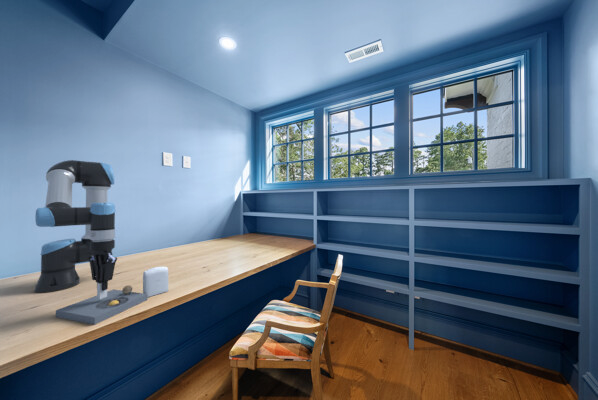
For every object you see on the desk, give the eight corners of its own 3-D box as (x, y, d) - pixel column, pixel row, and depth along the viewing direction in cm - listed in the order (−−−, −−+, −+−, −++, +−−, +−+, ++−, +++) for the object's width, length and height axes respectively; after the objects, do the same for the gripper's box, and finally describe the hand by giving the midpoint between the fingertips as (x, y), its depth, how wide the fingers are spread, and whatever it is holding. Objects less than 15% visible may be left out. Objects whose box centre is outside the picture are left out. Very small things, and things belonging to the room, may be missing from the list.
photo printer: (144, 298, 97) (144, 271, 97) (141, 296, 99) (141, 269, 99) (169, 291, 104) (170, 265, 105) (166, 289, 107) (166, 264, 107)
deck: (55, 316, 81) (55, 310, 81) (113, 294, 101) (113, 289, 101) (94, 324, 76) (94, 317, 76) (147, 299, 96) (147, 294, 96)
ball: (104, 306, 86) (108, 300, 85) (113, 302, 89) (117, 296, 89) (109, 313, 85) (113, 307, 85) (118, 309, 89) (122, 303, 88)
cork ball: (120, 294, 95) (120, 286, 95) (128, 291, 98) (128, 283, 98) (126, 295, 94) (126, 287, 94) (134, 292, 97) (134, 284, 97)
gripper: (80, 240, 87) (79, 299, 87) (104, 242, 84) (103, 303, 83) (101, 237, 94) (100, 292, 94) (124, 239, 91) (123, 295, 91)
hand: (102, 297), depth 89 cm, fingers closed
